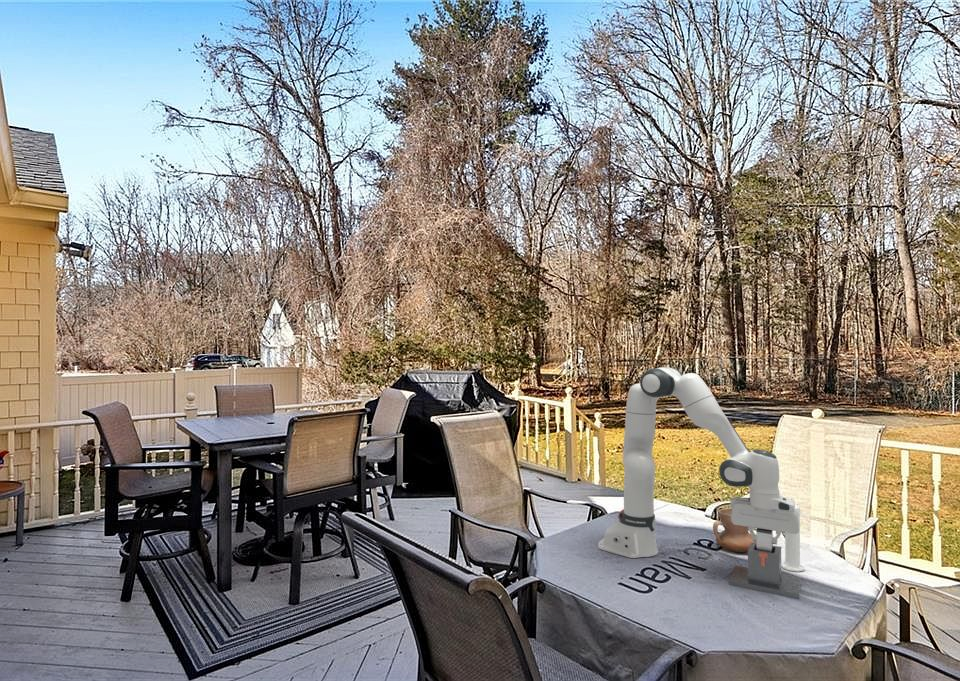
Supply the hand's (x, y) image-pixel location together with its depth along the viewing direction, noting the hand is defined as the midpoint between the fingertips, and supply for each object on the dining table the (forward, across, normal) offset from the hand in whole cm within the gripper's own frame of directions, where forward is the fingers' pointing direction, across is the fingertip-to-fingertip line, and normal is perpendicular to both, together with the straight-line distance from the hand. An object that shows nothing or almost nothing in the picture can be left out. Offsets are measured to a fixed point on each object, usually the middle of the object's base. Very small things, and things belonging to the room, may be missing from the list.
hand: (764, 542), depth 187 cm
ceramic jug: (+14, -13, +29) cm, 35 cm away
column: (+12, 0, 0) cm, 12 cm away
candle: (+14, +7, +19) cm, 25 cm away
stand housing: (+14, 0, 0) cm, 14 cm away
